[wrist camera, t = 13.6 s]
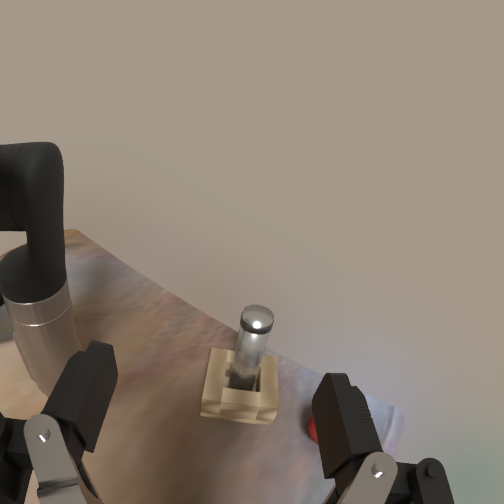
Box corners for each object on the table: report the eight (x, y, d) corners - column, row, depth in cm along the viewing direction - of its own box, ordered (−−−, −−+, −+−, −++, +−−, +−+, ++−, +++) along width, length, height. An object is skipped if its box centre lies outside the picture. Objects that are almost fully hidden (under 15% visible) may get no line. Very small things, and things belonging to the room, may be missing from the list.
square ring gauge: (200, 415, 36) (201, 398, 34) (209, 366, 45) (211, 347, 43) (271, 425, 36) (279, 408, 34) (270, 375, 45) (276, 356, 43)
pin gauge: (225, 399, 38) (241, 321, 32) (227, 380, 42) (243, 302, 35) (251, 403, 38) (275, 326, 32) (252, 383, 42) (274, 307, 35)
